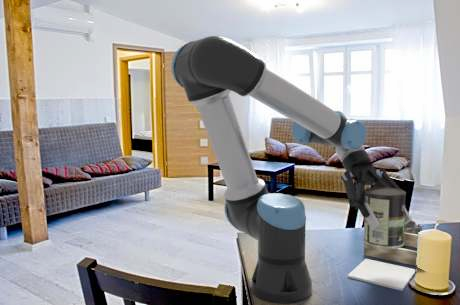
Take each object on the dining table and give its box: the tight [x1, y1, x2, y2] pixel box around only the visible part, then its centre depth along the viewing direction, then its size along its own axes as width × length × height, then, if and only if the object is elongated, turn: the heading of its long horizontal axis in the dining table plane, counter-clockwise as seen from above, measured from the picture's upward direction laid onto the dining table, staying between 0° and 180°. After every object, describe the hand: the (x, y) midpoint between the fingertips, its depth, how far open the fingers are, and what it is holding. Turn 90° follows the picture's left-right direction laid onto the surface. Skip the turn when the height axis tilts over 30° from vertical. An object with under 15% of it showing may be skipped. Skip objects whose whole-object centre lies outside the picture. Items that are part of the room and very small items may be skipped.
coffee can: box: [363, 186, 407, 249], centre depth 113 cm, size 10×10×14 cm
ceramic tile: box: [347, 258, 416, 292], centre depth 115 cm, size 14×14×1 cm
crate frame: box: [363, 232, 419, 267], centre depth 131 cm, size 16×16×4 cm
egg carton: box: [404, 219, 425, 235], centre depth 149 cm, size 11×8×4 cm
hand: (392, 224), depth 111 cm, fingers closed on coffee can, 10 cm apart
